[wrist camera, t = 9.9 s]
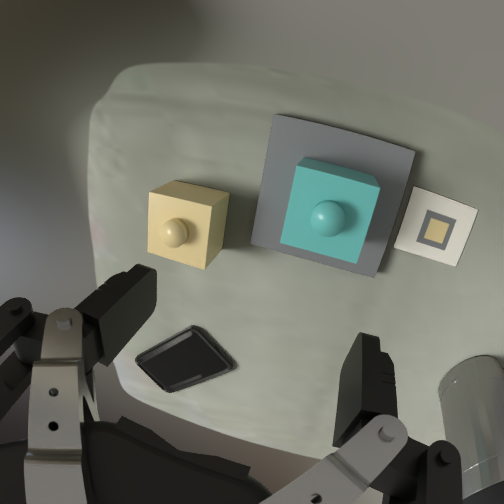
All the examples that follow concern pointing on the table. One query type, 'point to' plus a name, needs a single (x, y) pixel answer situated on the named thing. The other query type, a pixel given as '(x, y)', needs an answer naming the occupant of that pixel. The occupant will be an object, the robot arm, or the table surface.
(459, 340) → the table surface
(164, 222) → the yellow knobbed block
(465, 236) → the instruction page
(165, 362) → the phone
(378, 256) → the plate
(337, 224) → the teal brick
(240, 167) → the table surface
